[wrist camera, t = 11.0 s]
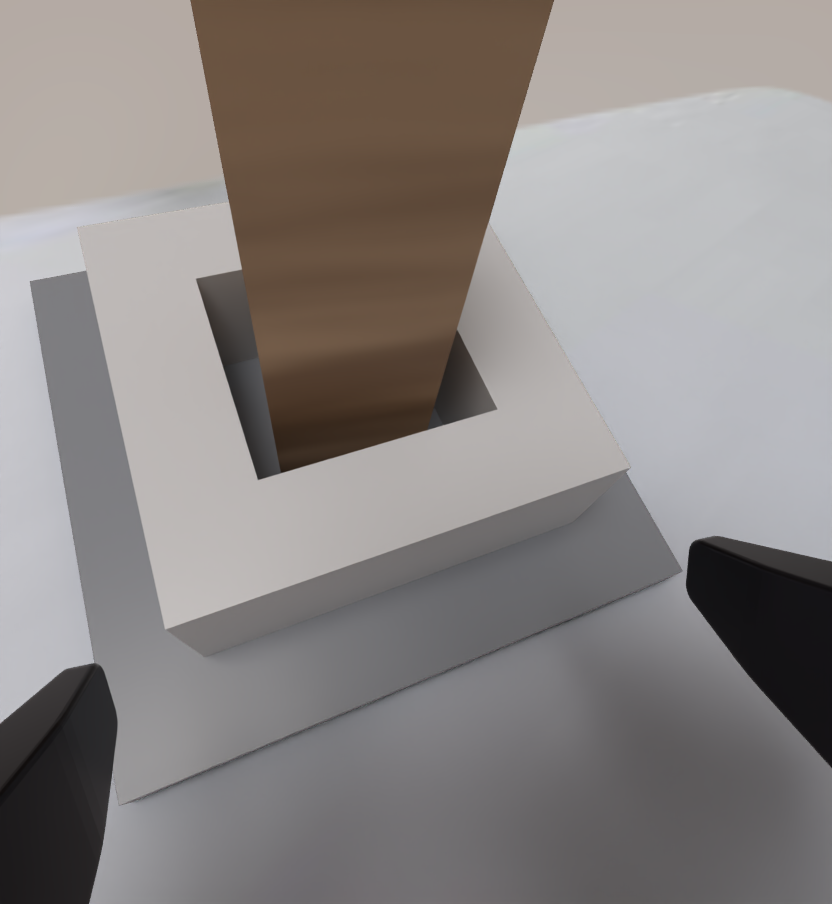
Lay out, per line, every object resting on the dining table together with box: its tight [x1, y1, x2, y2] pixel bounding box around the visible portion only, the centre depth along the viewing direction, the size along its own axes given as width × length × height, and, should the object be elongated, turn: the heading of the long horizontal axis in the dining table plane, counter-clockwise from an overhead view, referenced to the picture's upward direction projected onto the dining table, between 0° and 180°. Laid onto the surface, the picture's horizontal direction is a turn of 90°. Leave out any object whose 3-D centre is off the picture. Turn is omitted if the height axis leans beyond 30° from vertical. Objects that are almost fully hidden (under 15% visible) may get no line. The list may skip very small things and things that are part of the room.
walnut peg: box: [191, 0, 554, 473], centre depth 13 cm, size 4×4×13 cm
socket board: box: [30, 202, 682, 806], centre depth 17 cm, size 16×16×5 cm
